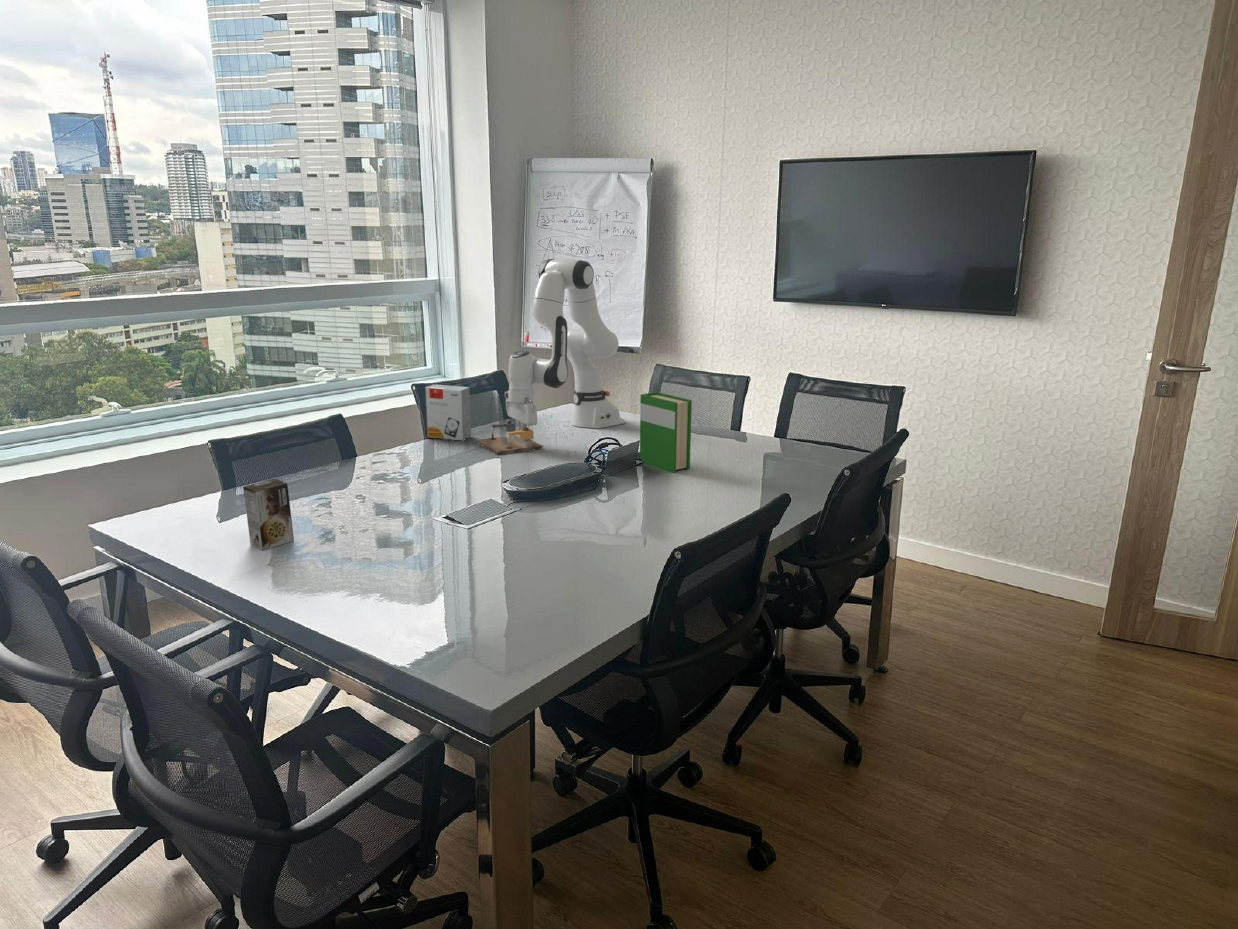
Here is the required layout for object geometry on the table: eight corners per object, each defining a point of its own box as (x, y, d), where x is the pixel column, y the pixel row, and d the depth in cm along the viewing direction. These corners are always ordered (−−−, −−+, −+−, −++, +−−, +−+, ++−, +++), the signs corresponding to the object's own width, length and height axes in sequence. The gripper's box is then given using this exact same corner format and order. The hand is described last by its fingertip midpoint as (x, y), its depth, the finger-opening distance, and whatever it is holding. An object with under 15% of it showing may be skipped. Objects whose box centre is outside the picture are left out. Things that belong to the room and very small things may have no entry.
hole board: (520, 437, 336) (520, 434, 336) (542, 448, 320) (542, 445, 319) (476, 442, 327) (476, 439, 327) (497, 455, 311) (496, 451, 310)
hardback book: (689, 469, 294) (691, 400, 288) (673, 473, 290) (675, 402, 283) (655, 458, 308) (656, 391, 301) (639, 461, 303) (640, 394, 297)
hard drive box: (426, 438, 334) (423, 387, 328) (436, 433, 341) (433, 384, 336) (463, 441, 330) (460, 389, 324) (472, 436, 337) (470, 386, 331)
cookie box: (281, 535, 231) (275, 477, 226) (294, 541, 227) (288, 482, 222) (249, 545, 224) (242, 485, 220) (262, 551, 220) (255, 490, 216)
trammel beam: (513, 435, 334) (512, 419, 332) (534, 446, 318) (533, 429, 316) (490, 438, 330) (489, 421, 328) (510, 449, 314) (510, 432, 312)
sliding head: (529, 441, 322) (529, 426, 320) (533, 444, 319) (533, 428, 317) (506, 445, 317) (505, 429, 315) (509, 447, 314) (509, 431, 312)
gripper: (541, 400, 310) (541, 437, 314) (518, 390, 327) (519, 426, 331) (525, 401, 307) (526, 439, 311) (502, 392, 324) (503, 428, 328)
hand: (522, 432), depth 321 cm, fingers closed
